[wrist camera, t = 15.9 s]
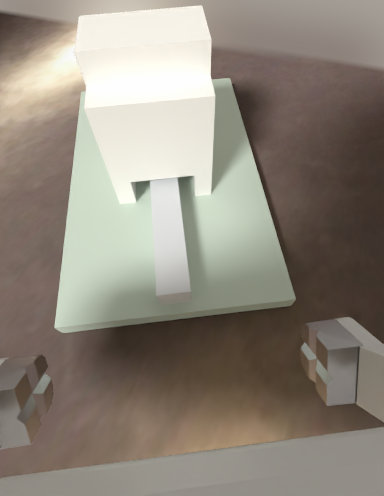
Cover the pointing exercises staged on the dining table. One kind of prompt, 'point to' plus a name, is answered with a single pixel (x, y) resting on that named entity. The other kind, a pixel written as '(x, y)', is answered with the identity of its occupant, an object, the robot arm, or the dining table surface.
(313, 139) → the dining table surface
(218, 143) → the rail board
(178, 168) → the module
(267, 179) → the dining table surface
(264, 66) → the dining table surface
